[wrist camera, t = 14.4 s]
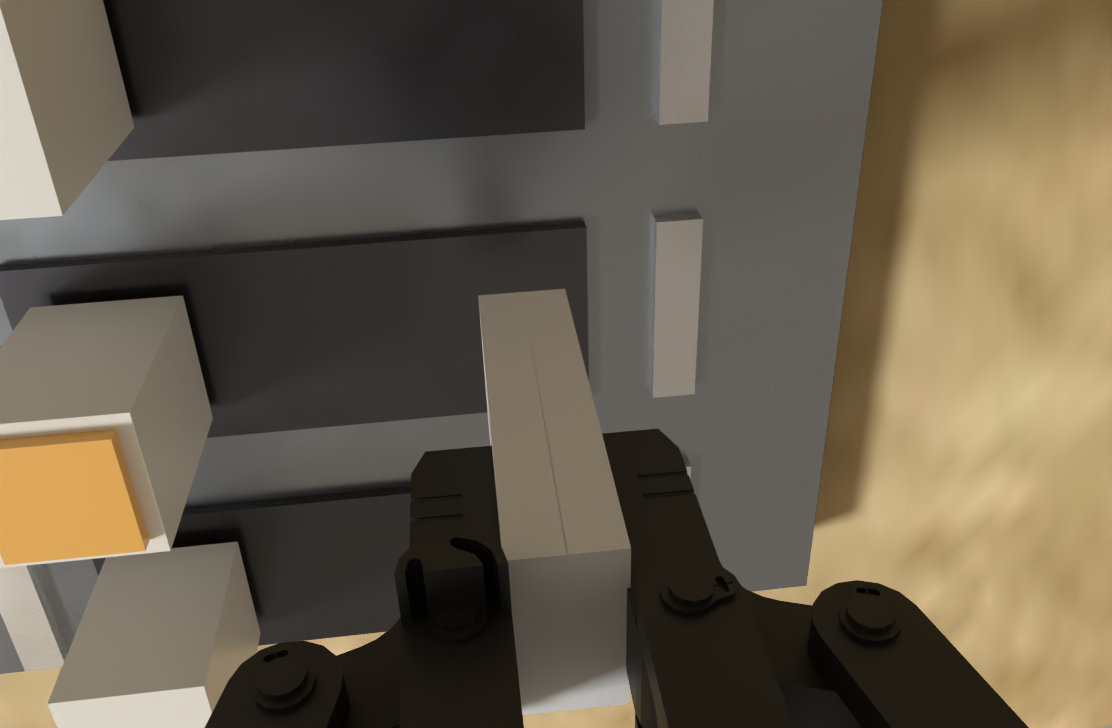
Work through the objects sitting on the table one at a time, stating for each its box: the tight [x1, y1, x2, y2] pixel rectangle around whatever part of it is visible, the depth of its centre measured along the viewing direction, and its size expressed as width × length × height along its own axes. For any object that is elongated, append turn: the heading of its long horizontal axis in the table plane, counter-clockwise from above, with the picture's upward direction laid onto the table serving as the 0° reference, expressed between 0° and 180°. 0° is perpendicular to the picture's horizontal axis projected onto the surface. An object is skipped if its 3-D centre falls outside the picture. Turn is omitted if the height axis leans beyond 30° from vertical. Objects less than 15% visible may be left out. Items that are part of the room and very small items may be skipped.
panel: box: [0, 0, 883, 674], centre depth 23 cm, size 18×24×2 cm
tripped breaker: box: [0, 296, 213, 568], centre depth 19 cm, size 3×3×5 cm
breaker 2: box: [48, 542, 261, 728], centre depth 22 cm, size 3×3×4 cm
